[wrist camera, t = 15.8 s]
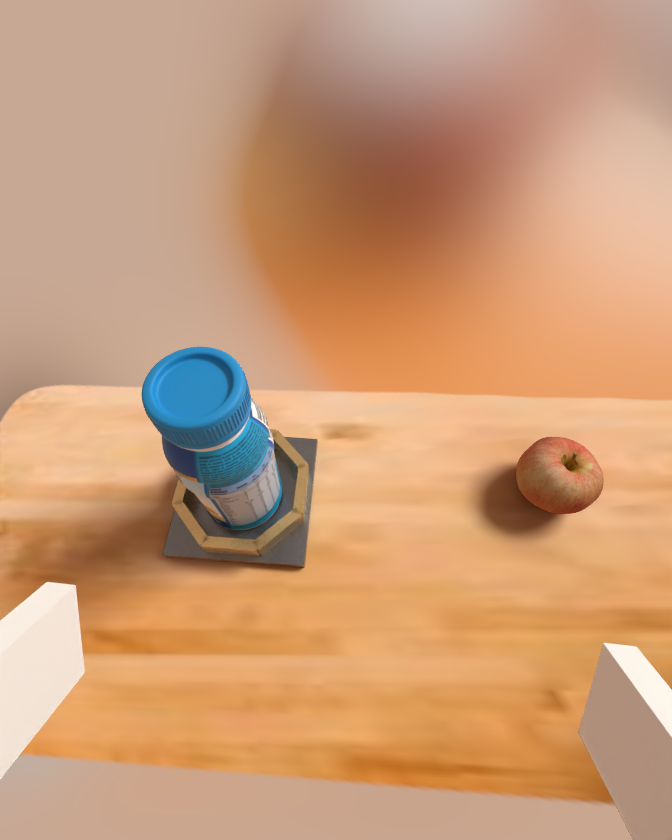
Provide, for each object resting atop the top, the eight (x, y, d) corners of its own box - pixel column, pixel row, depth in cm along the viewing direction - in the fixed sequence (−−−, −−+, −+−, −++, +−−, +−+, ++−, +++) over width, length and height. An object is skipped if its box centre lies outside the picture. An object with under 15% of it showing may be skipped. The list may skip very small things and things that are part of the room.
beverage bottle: (271, 540, 41) (234, 453, 24) (191, 524, 42) (100, 427, 25) (292, 465, 46) (273, 345, 28) (219, 451, 46) (158, 325, 29)
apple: (493, 462, 47) (522, 428, 41) (556, 450, 48) (594, 415, 42) (523, 530, 44) (560, 505, 37) (591, 515, 44) (639, 488, 38)
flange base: (317, 443, 48) (316, 428, 45) (304, 567, 41) (302, 559, 38) (199, 434, 48) (190, 419, 45) (165, 556, 41) (153, 548, 38)
